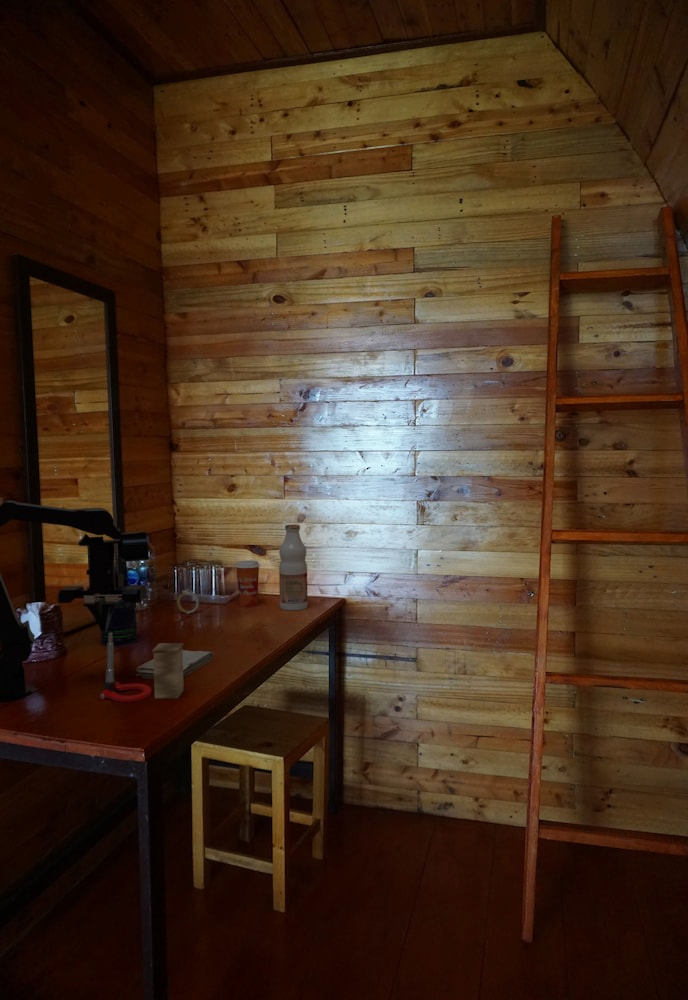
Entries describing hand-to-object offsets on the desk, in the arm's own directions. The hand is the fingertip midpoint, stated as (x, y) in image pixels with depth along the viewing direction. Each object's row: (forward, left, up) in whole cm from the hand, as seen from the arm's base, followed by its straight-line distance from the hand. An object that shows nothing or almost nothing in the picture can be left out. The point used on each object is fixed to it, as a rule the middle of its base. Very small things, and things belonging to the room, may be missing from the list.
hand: (104, 631), depth 156 cm
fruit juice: (-4, +82, -12) cm, 83 cm away
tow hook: (+10, -3, -13) cm, 16 cm away
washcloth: (+6, +16, -13) cm, 21 cm away
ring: (-30, +59, -12) cm, 68 cm away
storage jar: (-24, +25, -12) cm, 37 cm away
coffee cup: (-20, +78, -12) cm, 82 cm away
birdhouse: (+17, +3, -12) cm, 21 cm away
